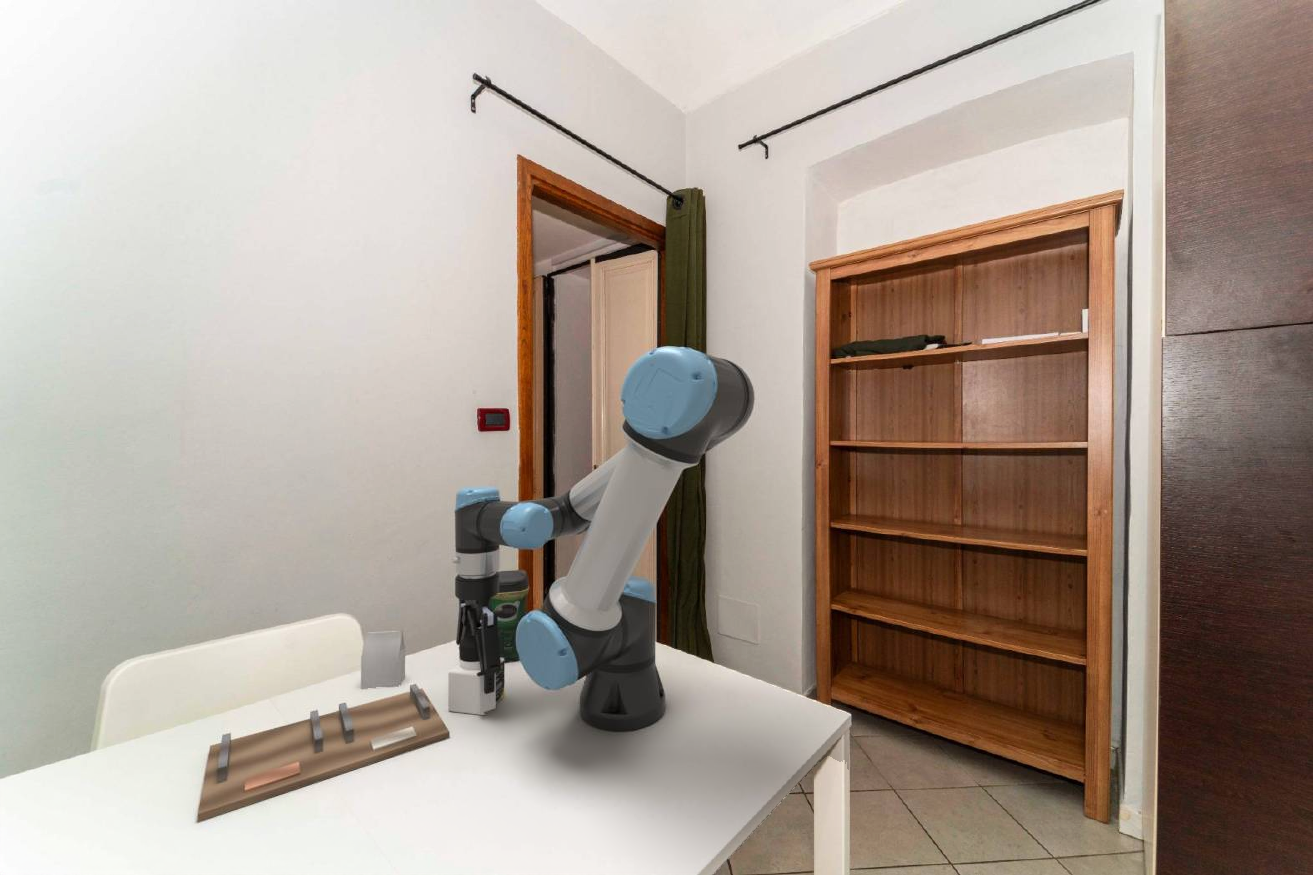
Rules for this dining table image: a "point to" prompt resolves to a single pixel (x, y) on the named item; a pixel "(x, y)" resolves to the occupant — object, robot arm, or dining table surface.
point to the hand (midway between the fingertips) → (477, 697)
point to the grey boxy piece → (383, 659)
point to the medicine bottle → (469, 679)
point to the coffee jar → (510, 609)
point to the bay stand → (315, 750)
